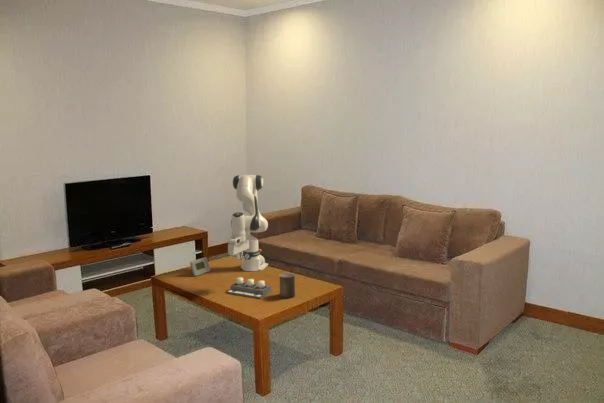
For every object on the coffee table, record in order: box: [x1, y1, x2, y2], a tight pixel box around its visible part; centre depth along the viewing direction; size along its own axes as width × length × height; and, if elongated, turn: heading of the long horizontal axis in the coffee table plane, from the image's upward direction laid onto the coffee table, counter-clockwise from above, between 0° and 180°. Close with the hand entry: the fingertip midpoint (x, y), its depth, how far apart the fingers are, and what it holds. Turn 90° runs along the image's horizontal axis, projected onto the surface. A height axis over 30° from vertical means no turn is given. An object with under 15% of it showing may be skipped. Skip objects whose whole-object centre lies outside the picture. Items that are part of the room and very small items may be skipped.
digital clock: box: [189, 256, 211, 277], centre depth 353 cm, size 16×9×11 cm, turn 134°
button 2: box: [246, 278, 255, 287], centre depth 315 cm, size 4×4×4 cm
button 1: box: [236, 276, 244, 286], centre depth 318 cm, size 4×4×4 cm
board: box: [226, 281, 273, 300], centre depth 314 cm, size 15×25×4 cm, turn 65°
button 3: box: [257, 279, 266, 289], centre depth 311 cm, size 4×4×4 cm
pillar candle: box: [278, 272, 296, 299], centre depth 307 cm, size 10×10×15 cm
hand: (239, 258), depth 315 cm, fingers closed
